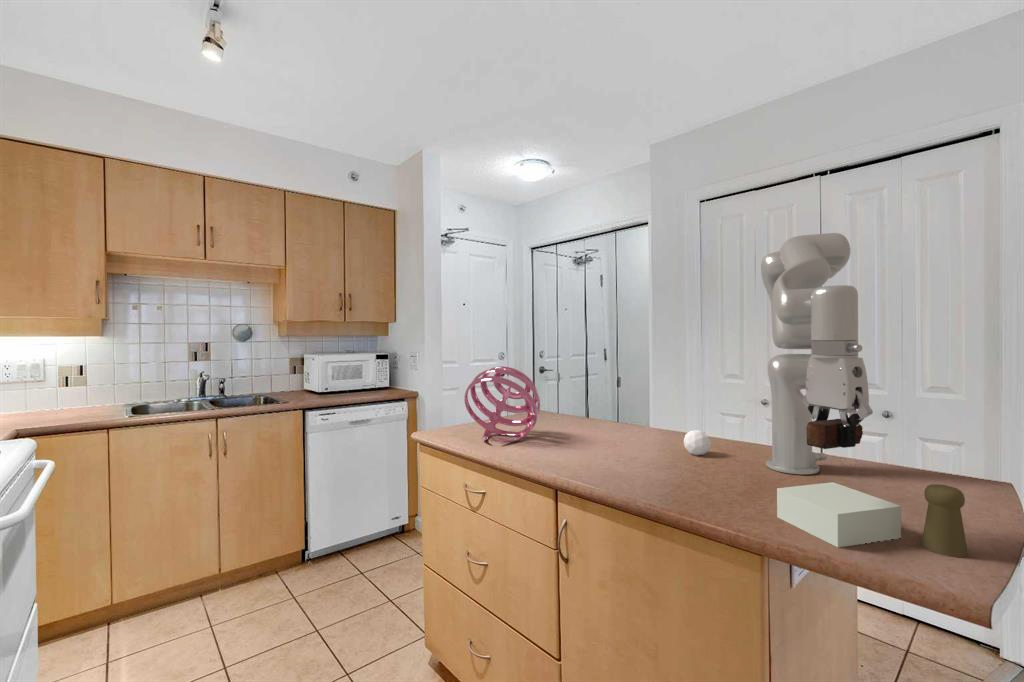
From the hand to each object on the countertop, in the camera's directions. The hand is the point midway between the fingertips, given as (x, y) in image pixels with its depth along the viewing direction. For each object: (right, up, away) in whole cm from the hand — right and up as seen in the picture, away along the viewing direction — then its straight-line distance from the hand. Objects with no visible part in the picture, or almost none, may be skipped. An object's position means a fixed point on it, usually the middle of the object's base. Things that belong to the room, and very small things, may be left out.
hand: (834, 442), depth 91 cm
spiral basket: (-65, -16, +81) cm, 105 cm away
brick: (0, -1, 0) cm, 1 cm away
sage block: (0, -17, 0) cm, 17 cm away
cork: (+13, -17, -9) cm, 23 cm away
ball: (-5, -16, +54) cm, 57 cm away
